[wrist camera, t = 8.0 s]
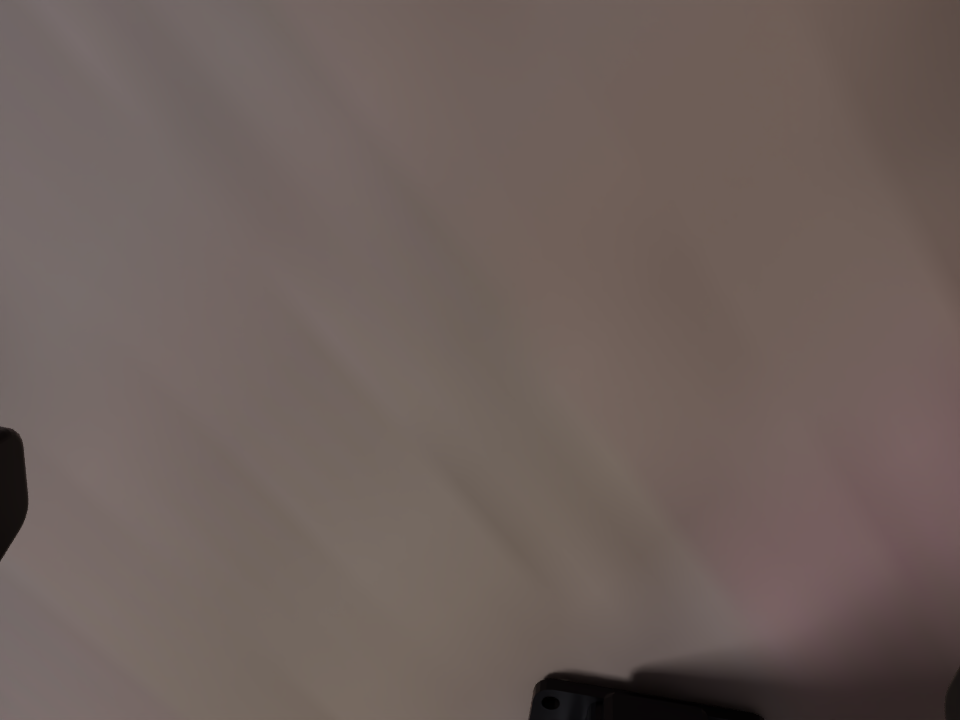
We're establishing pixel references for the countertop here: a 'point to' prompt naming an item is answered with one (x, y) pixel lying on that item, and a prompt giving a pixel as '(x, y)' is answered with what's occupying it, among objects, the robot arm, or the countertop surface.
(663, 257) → the countertop surface
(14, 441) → the robot arm
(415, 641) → the countertop surface
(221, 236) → the countertop surface
